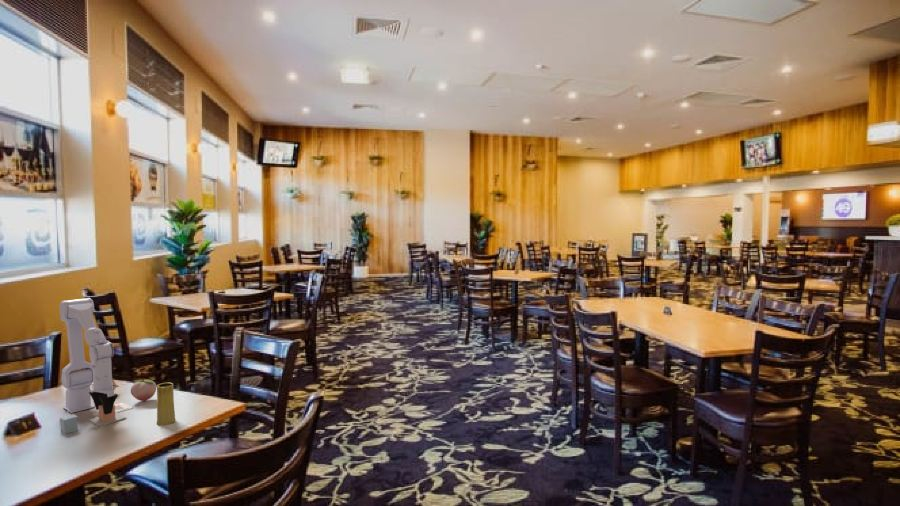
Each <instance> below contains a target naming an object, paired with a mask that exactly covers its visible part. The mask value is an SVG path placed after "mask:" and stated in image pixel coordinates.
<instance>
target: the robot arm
mask: <svg viewBox="0 0 900 506" xmlns="http://www.w3.org/2000/svg"><path fill="white" fill-rule="evenodd" d="M58 308H59V309H58V310H59V318H60V321H61V322H64V323H65V327H66V336H67V345H68V346H67V347H68V355H69V363H68V364H67V365H65V367H63V368H62V370H61V376H60V377H61V378H60V381H61V385H62V386H63V388H65V406H62V408H63V409H64V410H66V411H67V412H69V413H71V414H75V413H77V412H81V411H84V410H85V411H86V410H89V409H93V408H95V409H96V411H99V407H98V406H100V405H102V406H103V411H104V414H105V415H106V414H110V413H112V409H113V405H114V403H115V401H116V399H117V397H118V396H119V395H118V393H115V390H113V385H112V376H113V373H112V370H113V369H112V358H113V357H114V354H115V349H114V346H113V343H112V342H110V340H107V338H106V336H105V335H104V332H103V331H102V329H101V328H99V327H97V326H96V323H95V319H94V316H93V314H94V309H95V304H94V300H93V299H92V298H90V297H87V298H79V299H78V298H77V299H71V300H69V299H68V300H62V301H60V304H59V307H58ZM83 330H84V334H83ZM84 340H85V342H86V344H87V346H88V348H89V352H88V355H89V359H90V362H88V361H86V357H85V347H84ZM91 399H92V400H91ZM91 401H93V403H92V402H91Z"/></svg>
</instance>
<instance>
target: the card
mask: <svg viewBox="0 0 900 506" xmlns="http://www.w3.org/2000/svg"><path fill="white" fill-rule="evenodd" d="M114 405H115V412H117V413H122V412H124V411H128V410H131V409H133V407H132V406H130V405H128V404H126V403H124V402H119V403H115V404H114Z"/></svg>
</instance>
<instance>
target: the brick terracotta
mask: <svg viewBox="0 0 900 506" xmlns="http://www.w3.org/2000/svg"><path fill="white" fill-rule="evenodd" d="M98 407H99V410H98V417H99V419H100V420H101V421H107V420H111V419H114V418H115V405H113V409H112V413H110V414H106V415H105V414H104V411H103V406H102V405H100V406H98Z"/></svg>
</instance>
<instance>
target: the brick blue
mask: <svg viewBox="0 0 900 506" xmlns="http://www.w3.org/2000/svg"><path fill="white" fill-rule="evenodd" d="M78 419H79V418H78V415H76V414H75V413H71V414H69V415H65V416H60V417H59V423H60V432H61V433H63V434H64V435H65V434H69V433H73V432H76V431H77V432H78V431H79V420H78Z"/></svg>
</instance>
